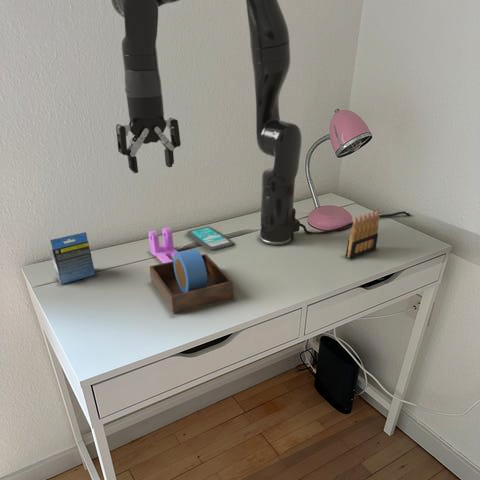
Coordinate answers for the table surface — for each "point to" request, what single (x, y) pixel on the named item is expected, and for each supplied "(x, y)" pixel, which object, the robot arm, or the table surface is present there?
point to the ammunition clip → (363, 235)
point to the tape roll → (190, 270)
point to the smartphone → (209, 238)
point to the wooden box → (178, 301)
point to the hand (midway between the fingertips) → (152, 169)
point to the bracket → (165, 249)
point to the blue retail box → (72, 258)
